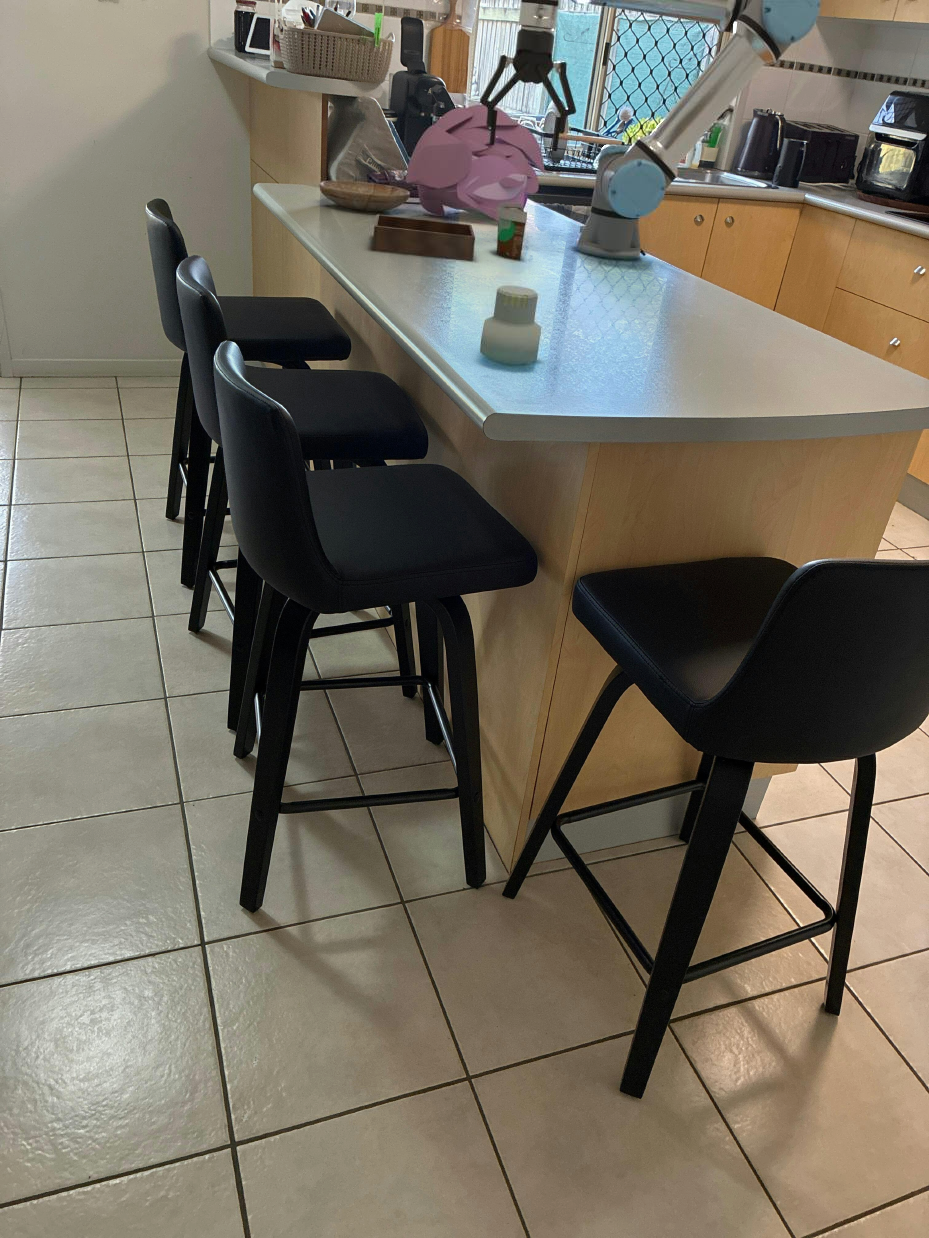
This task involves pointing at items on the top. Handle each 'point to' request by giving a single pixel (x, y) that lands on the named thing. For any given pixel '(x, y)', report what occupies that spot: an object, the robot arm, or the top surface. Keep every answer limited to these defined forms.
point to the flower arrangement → (474, 163)
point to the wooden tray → (423, 237)
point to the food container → (510, 230)
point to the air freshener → (512, 327)
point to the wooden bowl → (364, 195)
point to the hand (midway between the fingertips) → (523, 147)
